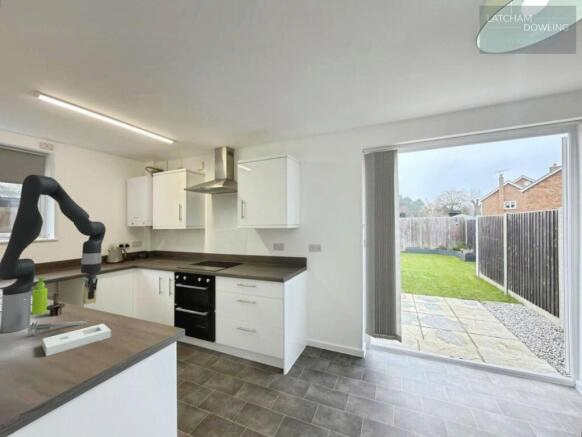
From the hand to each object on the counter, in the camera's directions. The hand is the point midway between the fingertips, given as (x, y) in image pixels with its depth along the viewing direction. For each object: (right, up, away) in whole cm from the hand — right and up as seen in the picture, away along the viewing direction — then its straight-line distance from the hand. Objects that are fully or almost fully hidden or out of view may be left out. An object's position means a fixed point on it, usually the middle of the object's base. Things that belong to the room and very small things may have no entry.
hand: (89, 297), depth 114 cm
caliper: (-13, -15, -1) cm, 20 cm away
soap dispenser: (-46, -16, +21) cm, 53 cm away
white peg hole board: (+7, -14, -14) cm, 21 cm away
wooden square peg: (0, -2, 0) cm, 2 cm away
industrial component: (-35, -16, +18) cm, 42 cm away
